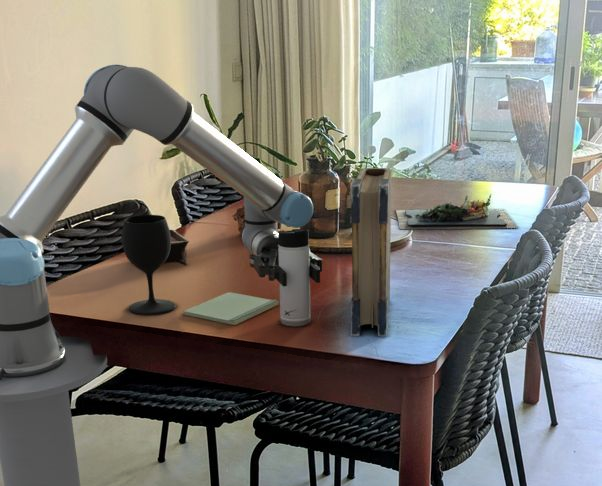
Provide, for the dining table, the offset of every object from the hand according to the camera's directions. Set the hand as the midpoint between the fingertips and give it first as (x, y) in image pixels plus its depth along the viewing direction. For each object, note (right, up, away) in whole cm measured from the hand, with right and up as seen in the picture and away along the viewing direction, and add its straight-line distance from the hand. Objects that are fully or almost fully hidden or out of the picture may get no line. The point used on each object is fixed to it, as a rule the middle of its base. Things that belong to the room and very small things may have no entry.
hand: (301, 278), depth 172 cm
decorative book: (+15, -8, +11) cm, 20 cm away
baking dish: (-37, +9, +56) cm, 68 cm away
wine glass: (-33, -5, +20) cm, 39 cm away
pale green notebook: (-15, -5, +17) cm, 24 cm away
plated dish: (+47, +26, +97) cm, 111 cm away
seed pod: (-13, +20, +83) cm, 86 cm away
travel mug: (-1, -9, +9) cm, 12 cm away
